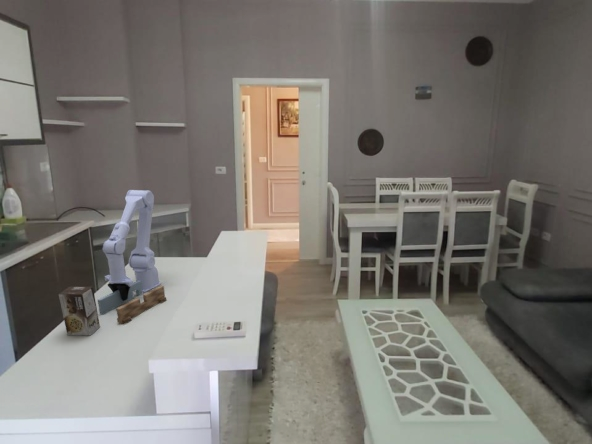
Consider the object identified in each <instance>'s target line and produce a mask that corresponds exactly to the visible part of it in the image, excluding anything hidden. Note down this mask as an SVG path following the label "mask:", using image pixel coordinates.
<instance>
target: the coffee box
mask: <svg viewBox="0 0 592 444" xmlns="http://www.w3.org/2000/svg"><path fill="white" fill-rule="evenodd" d="M58 297H59V302H60V307H61V312H62V317H63V321H64V325H65V331H66V335H67V336H91V335H93V334H94V333H95V332H96V331H97V330H99V328H100V327H101V324H100V319H99V313H98V307H97V302H96V297H95V291H94V286H81V285H80V286H77V285H76V286H72V285H71V286H68V287H67V288H65V289H63V291H61V292H60V293H58Z"/></svg>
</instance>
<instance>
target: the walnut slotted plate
mask: <svg viewBox="0 0 592 444" xmlns="http://www.w3.org/2000/svg"><path fill="white" fill-rule="evenodd" d="M165 294H166V293H165V287H164V285H158V286H156V287H154V288H152V289H151V290H149V291H147V292H145V293H143V294H142V297H143V298H142V299H143V301H142V302H141V298H139V297H136V298H134V299H132V300H130V301H128V302H126V303H124V304H122V305H120V306H118V307H116V308H115V309H116V315H117V318H116V321H117V323H118V324H120V325H126V324H128V323H130V322H131V321H132V319H134V318H135V317H137V316H139V315H140V314H142V313H144V312H146V311H147V310H149V309H151V308H153V307H154V306H156V305H158V304H163V303H164V302H166V301H167V297H166V295H165ZM138 314H139V315H138Z"/></svg>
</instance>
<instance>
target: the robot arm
mask: <svg viewBox="0 0 592 444" xmlns="http://www.w3.org/2000/svg"><path fill="white" fill-rule="evenodd" d="M124 199H125V207H124V210H123V212H122V216H121V217H120V221H118V222H116V223H115V225H114V227H113V228H112V229H113V230H112V232H111V234H110V236H109V238H108V239H107V240H105V241H104V242H103V244H102V252H103V253H104V254H105V257H106V258H107V263H108V267H109V268H108V269H109V274H107V275H104V280H105V282H108V284H107V287H108V288H109V289H110V290H111V293H113V292H115V291H117V290H119V292H120V294H121V298H122V301H125V300H127V299H128V293H129V289H130V287H131V286H132V285H134V282H136V281H138V280H139V281H141V284H142V291H143V293H148V292H149V291H151V290H153V289H155V288H157V287H159V286H161V284H162V283H160V280H159V279H160V277H159V271H158V269H157V267H156V266H155V264H156V259H155V252H154V251H153V250H152V249H151V248H150V245H151V244H150V241H151V232H152V231H151V230H152V218H153V209H154V204H155V202H154V201H155V195H154V194H153V192H152V191H151V190H148V189H147V190H140V189H137V190H136V189H129V190H128V191H127V192H126V195H125V198H124ZM137 211H138V224H137V236H136V245H135V246H136V247H135V248H134V249H132V250H131V252H130V256H129V259H128V265H129V267H130V268H131V269H132V271H134V278H135V281H134V280H133V279H131V278H129V277H127V273H126V265H125V260H124V258H125V257H124V252H125V251H126V242H127V241H126V239H127V237H128V235H129V233H130V230H131V227H130V225H129V224H130V223H131V221H132V220H133V218H134V215H135V214H136V212H137Z"/></svg>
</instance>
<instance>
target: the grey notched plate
mask: <svg viewBox="0 0 592 444" xmlns="http://www.w3.org/2000/svg"><path fill="white" fill-rule="evenodd" d="M133 282H134V285H132V286H131V287H130V289H129V293H128V299H127V300H125V301H122V298H121V294H120V292H119V290H117V291H115V292H111V293H109V294H106V295H105V296H103V297H100V298H98V299H97V304H98V311H99V314H100V315H104V314H107V313H108V312H110V311H112V310H115V309H117V308H119V307H121V306H122V305H124V304H126V303H128V302H130V301H132V300H134V299H135V298H134V292H135V293H136V296H141V295H144V292H143V291H142V284H141V281H139V280H138V281H136V280H135V281H133Z"/></svg>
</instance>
